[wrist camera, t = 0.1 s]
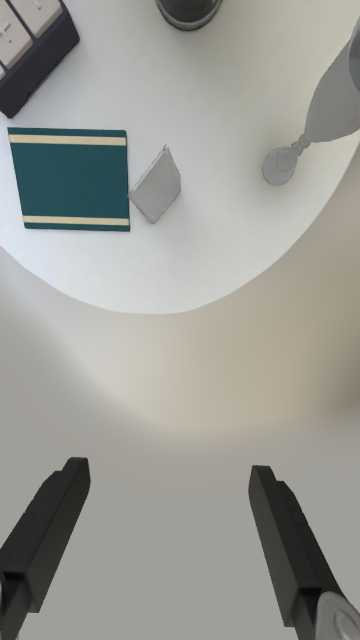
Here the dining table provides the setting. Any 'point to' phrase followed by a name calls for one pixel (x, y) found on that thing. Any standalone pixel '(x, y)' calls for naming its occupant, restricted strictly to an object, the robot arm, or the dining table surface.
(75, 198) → the cloth
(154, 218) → the white gable top carton
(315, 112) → the chalice
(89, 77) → the dining table surface
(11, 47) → the calculator
